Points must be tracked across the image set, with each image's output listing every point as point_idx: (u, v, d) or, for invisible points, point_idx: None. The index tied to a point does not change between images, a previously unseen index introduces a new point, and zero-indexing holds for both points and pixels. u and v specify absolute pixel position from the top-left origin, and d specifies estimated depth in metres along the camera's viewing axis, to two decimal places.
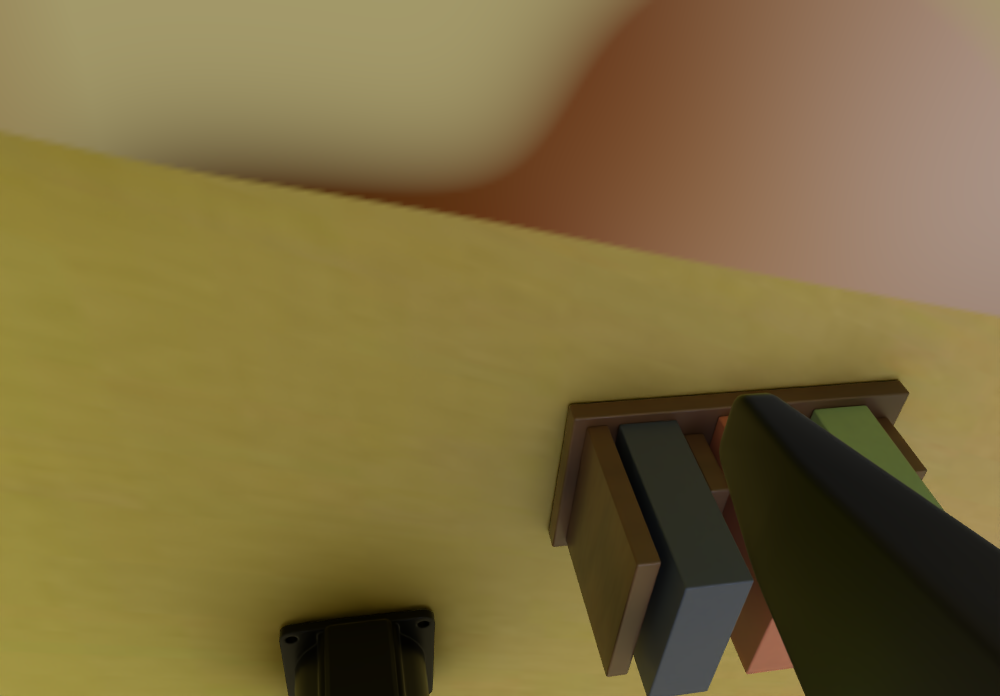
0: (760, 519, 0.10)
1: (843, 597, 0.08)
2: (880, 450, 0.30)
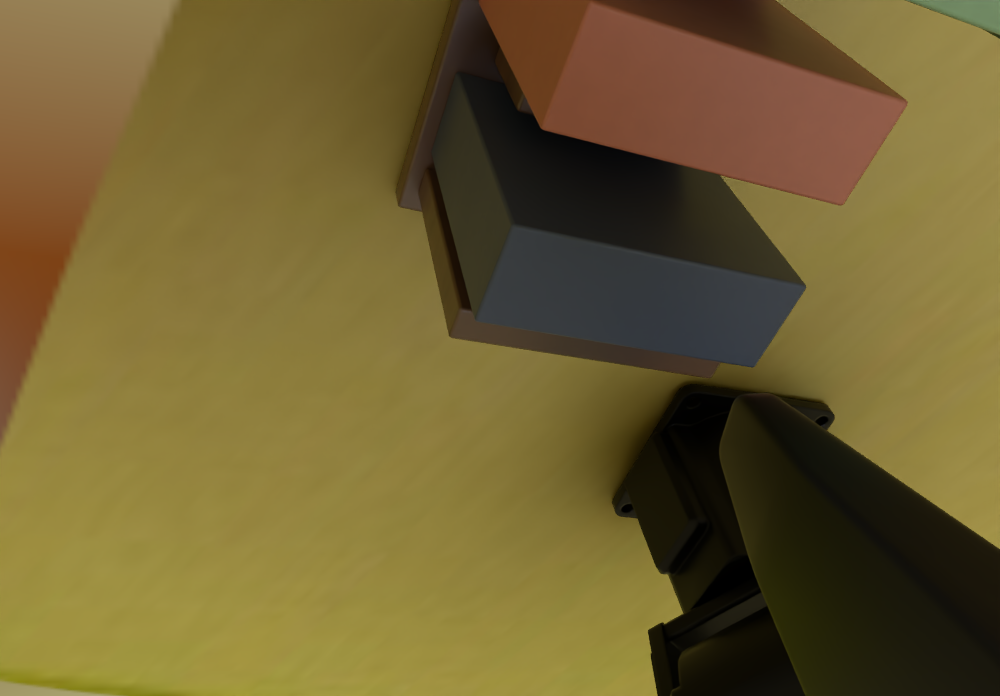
0: (760, 519, 0.10)
1: (843, 597, 0.08)
2: None
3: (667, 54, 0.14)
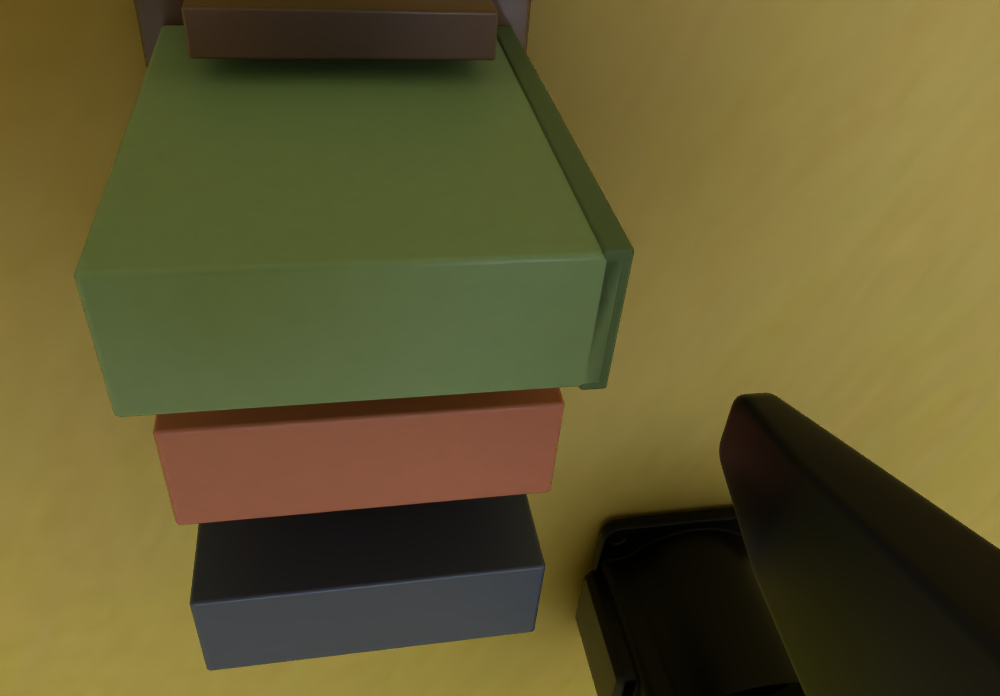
0: (760, 519, 0.10)
1: (843, 597, 0.08)
2: None
3: (264, 444, 0.13)
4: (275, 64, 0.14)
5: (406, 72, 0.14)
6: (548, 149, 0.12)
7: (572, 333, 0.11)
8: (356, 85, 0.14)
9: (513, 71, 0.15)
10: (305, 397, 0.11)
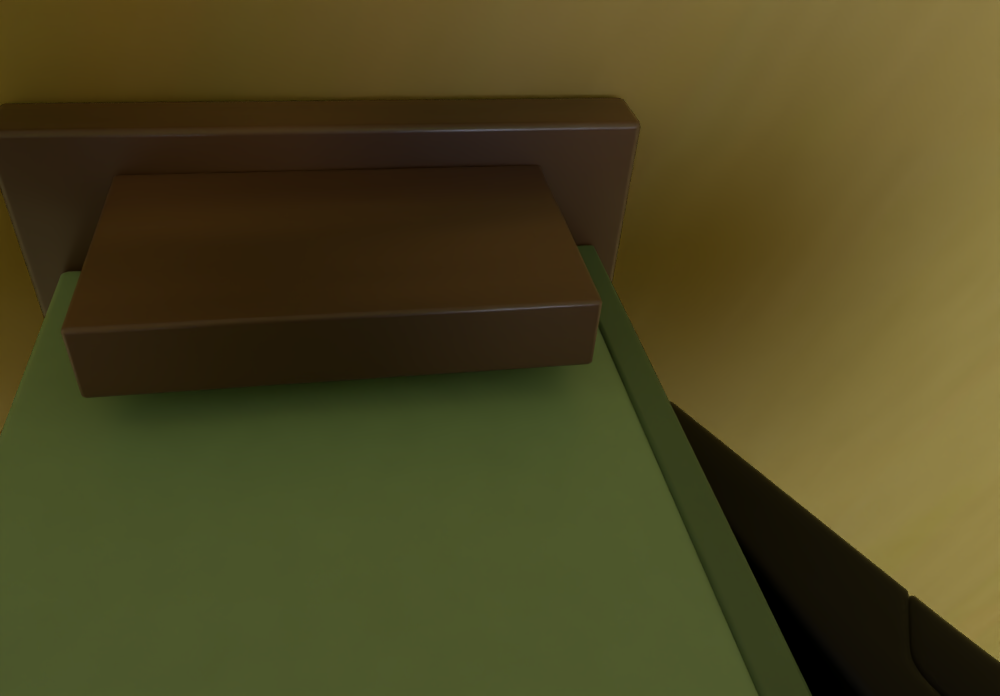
0: None
1: None
2: None
3: None
4: None
5: None
6: (704, 587, 0.07)
7: None
8: (363, 413, 0.08)
9: (611, 358, 0.09)
10: None
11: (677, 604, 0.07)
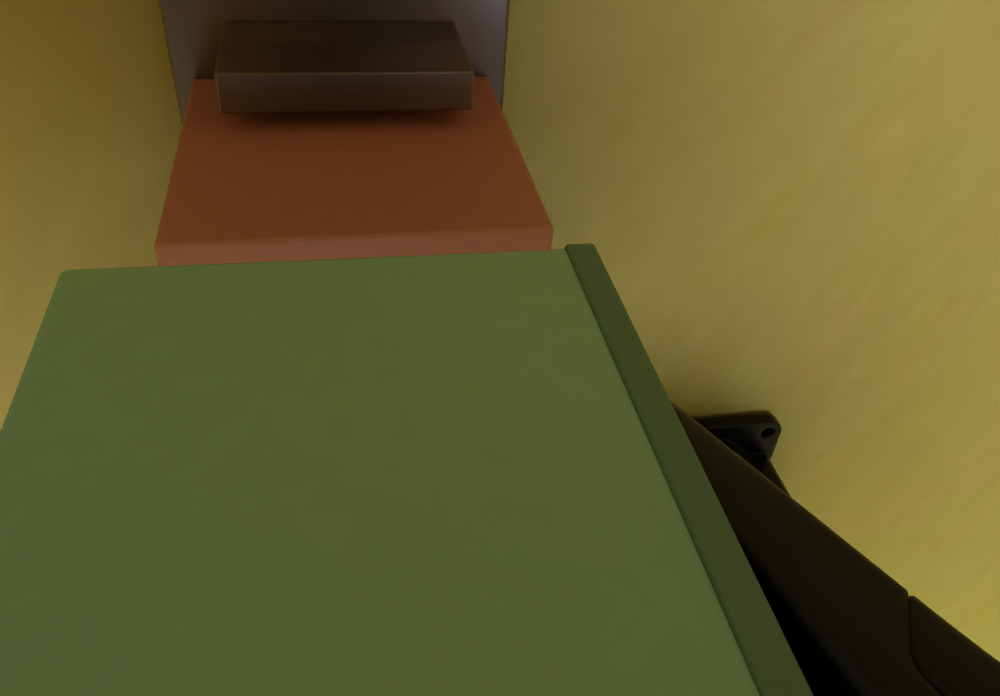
0: None
1: None
2: None
3: None
4: (232, 360, 0.09)
5: (443, 370, 0.09)
6: (705, 586, 0.07)
7: None
8: (364, 412, 0.08)
9: (612, 357, 0.09)
10: None
11: (678, 602, 0.07)
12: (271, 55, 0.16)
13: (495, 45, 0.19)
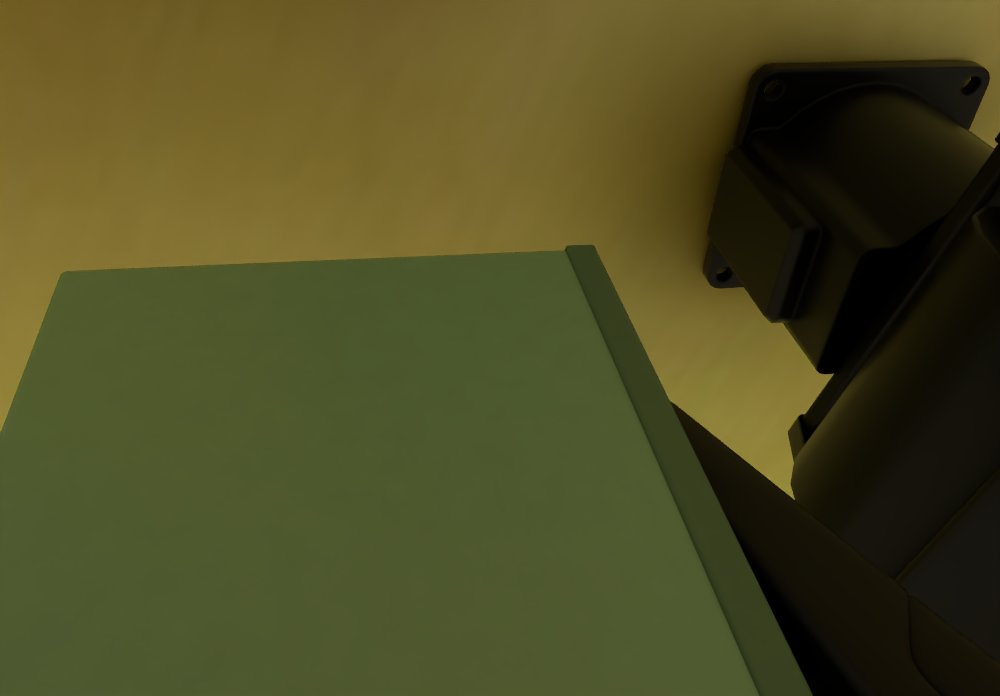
0: None
1: None
2: None
3: None
4: (233, 362, 0.09)
5: (443, 370, 0.09)
6: (705, 588, 0.07)
7: None
8: (363, 413, 0.08)
9: (612, 358, 0.09)
10: None
11: (678, 604, 0.07)
12: None
13: None
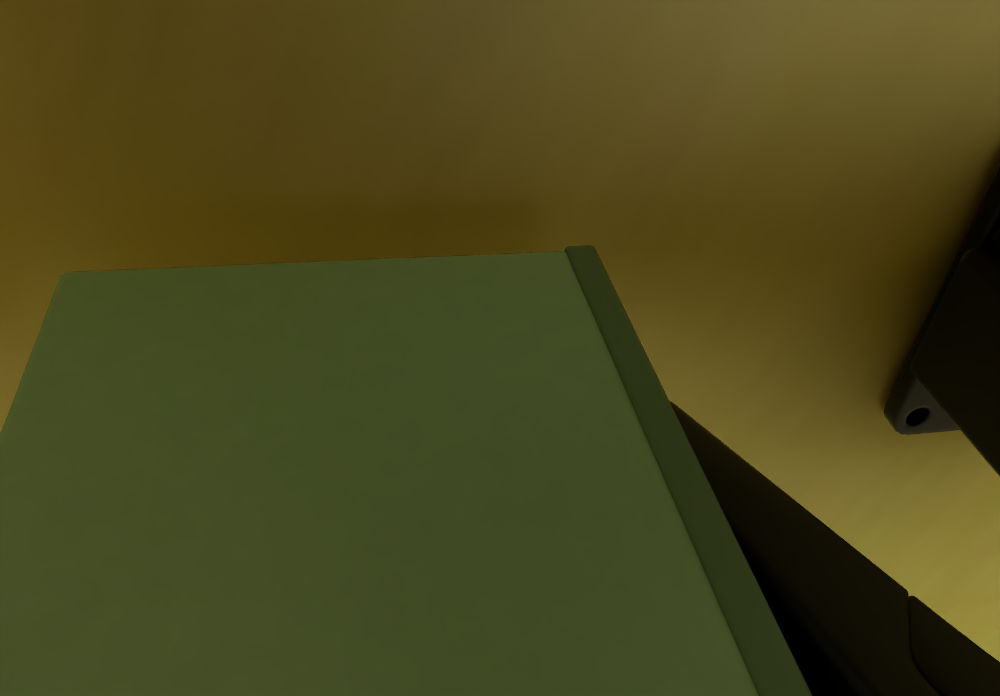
0: None
1: None
2: None
3: None
4: (232, 363, 0.09)
5: (444, 372, 0.09)
6: (705, 589, 0.07)
7: None
8: (363, 414, 0.08)
9: (612, 359, 0.09)
10: None
11: (678, 606, 0.07)
12: None
13: None
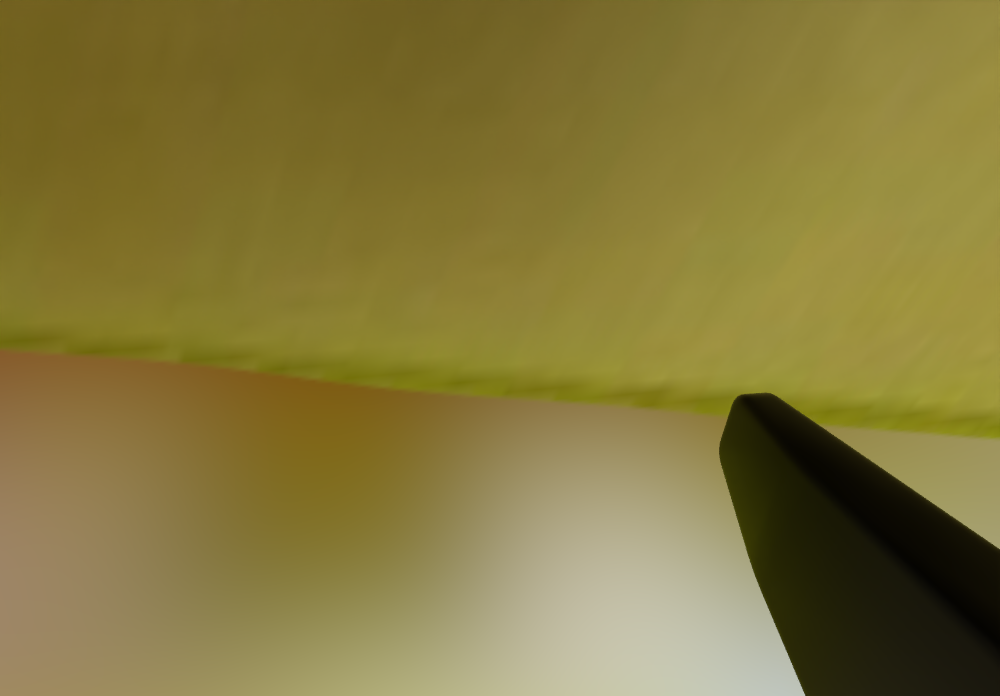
0: (760, 519, 0.10)
1: (843, 597, 0.08)
2: None
3: None
4: None
5: None
6: None
7: None
8: None
9: None
10: None
11: None
12: None
13: None
